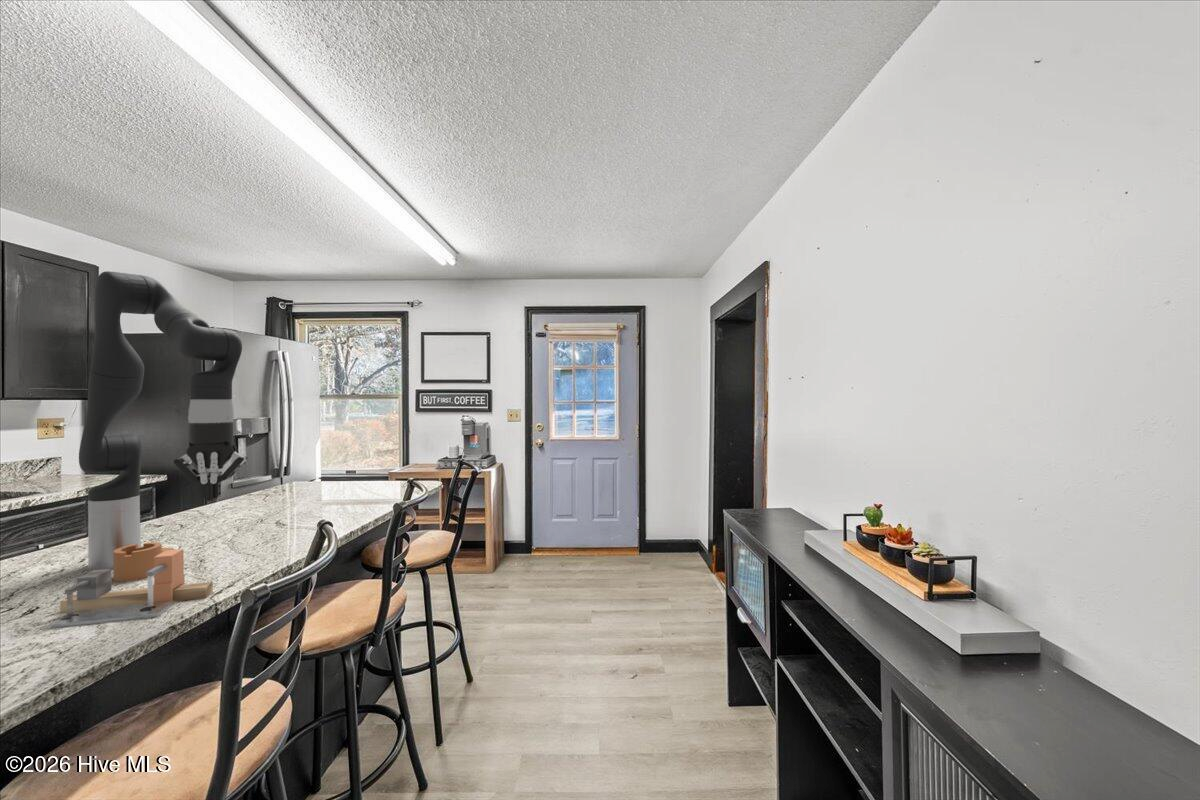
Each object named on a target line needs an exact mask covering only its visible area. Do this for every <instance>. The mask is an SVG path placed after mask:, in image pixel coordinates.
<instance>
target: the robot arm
mask: <svg viewBox="0 0 1200 800" xmlns="http://www.w3.org/2000/svg"><path fill="white" fill-rule="evenodd" d="M94 285H95V287H94V337H93V348H92V354H91V362H90V366H89V375H88V376H89V377H88V386H87V387H88V388H87V389H88V390H87V391H88V392H87V406H86V407H87V408H86V414H85V421H84V426H83V430H82V435H81V439H80V444H79V449H78V450H79V451H78V464H79V467H80V469H81V470H82V471H83V472H84V473H88V474H90V473H91V474H93V473H94V474H95V473H106V472H107V473H109V472H119V471H120V473H119V474H118V475H117V476H116V477H114V478H112V479H111V480H108V481H105V482H104V483H102V484H101V483H100V484H99V485H95V486H94V487H91V488H90V489H89V490H88V492H87V495H88V496H87V501H88V503H87V505H88V509H87V511H88V512H87V513H88V515H87V516H88V518H87V519H88V523H87V524H88V525H87V526H88V533H87V535H88V544H87V545H88V547H87V548H88V549H87V551H88V552H87V555H88V556H87V558H88V561H87V562H88V563H87V564H88V566H87V567H88V570H90V571H93V570H104V569H111V570H113V551H114V550H116V549H118V548H121V547H124V546H128V545H133V544H138V547H142V546H141V539H142V537H141V528H142V527H141V520H140V518H141V510H140V509H141V508H140V507H141V505H140V504H141V502H140V501H141V500H140V499H141V498H140V497H141V495H140V494H141V493H140V492H141V491H140V489H141V468H142V455H143V452H142V451H143V449H142V447H143V446H142V442H141V440H140V437H139V436H138V435H136V434H110V435H109V434H108V435H107V434H106V435H105V433H106V431H107V430H108V427H109V426H110V424H111V423H112V422H113V420H114V419H115V418H116V417H117V416H118V415H119V414H121V412H123V411H124V410H125V409H126V408H127V407H129V406H130V405H131V403H133V401H135V399H137V398H138V396H140V394H141V392H142V389H143V383H144V376H145V365H144V362H143V360H142V359H141V357H140V355H139V354H138V353H137V351H136V350H135V349H134V347H133V346H132V345H131V343H129V341H128V340H127V338H126V336H125V334H124V333H123V330H122V325H121V315H122V314H133V315H153V320H154V323H155V325H156V327H157V328H158V329H159V331H160V332H162V333H163V334H164V335H166V336H167V337H168V338H170V339H172V340H173V341H174V342H175V344H176V346H177V348H178V351H179V352H180V353H181V355H183V356H184V357H187V358H189V359H192V360H196V361H212V362H213V361H214V364H213V366H212V367H211V368H210V369H209V370H204V371H198V372H194V373H192V374H191V376H190V379H189V404H188V415H187V421H188V447H187V448H186V449H185V450H186V451H185V452H186V453H185V454H184V455H182V456H180V457H178V458H175V459H174V460H173V464H174V465H176V467H177V468H178V469H179V470H180V471H181V473H183V474H184V475H185V476H186V477H187V478H188V479H189V480H190V481H191V482H193V483H194V482H197V483H200V484H201V485H202V487H201V488H202V489H201V491H202V495H201V496H202V499H204V501H205V502H215V501H217V500H219V498H221V495H222V482H223V481H226V480H228V479H232V477H233V476H234V475H235V474H236V473H237V471H238V470H240V468H241V467H242V466H243V465H244V464H245V462H247V460H248V457H247V455H241V454H240V453H239V452H237V448H236V447H235V445H234V439H235V438H234V437H235V436H234V429H235V428H234V421H235V419H234V404H233V380H234V376H235V373H236V369H237V366H238V363H239V361H240V358H241V355H242V352H243V344H242V343H243V342H242V340H241V338H240V336H239V335H238V334H237V333H236V332H234V331H233V330H229V329H224V328H223V329H221V328H216V327H215V328H214V327H210V324H208V322H207V321H206V320H205V319H203V318H202V317H200V316H198V315H197V314H196V313H194V312H192V311H191V310H189V309H187V308H186V307H184V306H183V305H182V303H180V301H178V299H176V297H175V296H174V295H173V294H172V293H171V292H170V291H169V290H168V289H167V288H166V286H164V285H163V284H162V283H161V282H160V281H158V280H157V279H155V278H154V277H151V276H147V275H141V274H134V273H127V272H120V271H110V270H109V271H107V270H106V271H102V272H100V274H98V277H97V278H96V281H95V284H94ZM229 461H230V462H231V464H230V465H229V466H228V467H227V469H226V470H225V465H226V464H227V463H228V462H229ZM193 463H194V464H195V465H196V466H197V468H196V467H195V466H194V465H193ZM224 470H225V471H224Z"/></svg>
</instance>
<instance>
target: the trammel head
mask: <svg viewBox="0 0 1200 800" xmlns="http://www.w3.org/2000/svg"><path fill="white" fill-rule="evenodd" d="M184 571H185V570H184V549H183V548H179V549H175V550H166V551H165V552H163V553H161V554H159V555H157V556H155V557H154V568H153V569H151V570H149V571H148V572H146V576H148V577H147V588H148V607H151V606H153V603H157V602H167V601H173V589H174V588H176V587H177V586H179V585H185V584H186V583H185V581H186V579H185V575H186V574H185V573H184ZM153 575H154V576H153Z"/></svg>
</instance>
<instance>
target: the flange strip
mask: <svg viewBox="0 0 1200 800" xmlns="http://www.w3.org/2000/svg"><path fill="white" fill-rule="evenodd" d="M175 605H176V601H167V602H157V603H153V606H151V607H148V603H147V604H137V605H128V606H118V607H108V608H98V609H88V610H77V611H73V614H72V615H67V614H66V615H65V616H62V617H61V618H59V620H56V621H55V622H53V623H52V624H50V625H49V626H50V629H56V628H57V629H58V628H67V627H76V626H83V625H84V626H85V625H93V624H94V625H95V624H102V623H104V624H105V623H112V622H113V623H114V622H123V621H125V622H126V621H131V620H132V621H133V620H142V619H153V618H158V617H160V615H163V614H164V613H165V612H166V611H168V610H169V609H171V608H172V607H174V606H175Z"/></svg>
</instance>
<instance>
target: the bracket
mask: <svg viewBox="0 0 1200 800" xmlns="http://www.w3.org/2000/svg"><path fill="white" fill-rule="evenodd" d="M142 545H143V546H141V547H138V544H133V545H128V546H124V547H121V548H118V549H116V550H114V551H113V569H112V570H113V571H112V573H113V574H112V576H113V577H112V578H113V581H115V582H130V581H131V582H132V581H138V580H142V579H146V578H147V579H148V576H146V572H148V571H149V570H151V569H153V568H154V557H155V556H157V555H159V554H161V553H163V552H165V551H166V550H176V549H175V548H173V547H162V545H163V543H161V542H157V541H155V542H152V541H150V542H149V541H148V542H144V543H143V544H142ZM153 577H154V575H153Z"/></svg>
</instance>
